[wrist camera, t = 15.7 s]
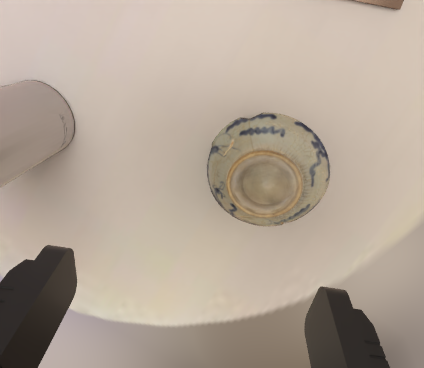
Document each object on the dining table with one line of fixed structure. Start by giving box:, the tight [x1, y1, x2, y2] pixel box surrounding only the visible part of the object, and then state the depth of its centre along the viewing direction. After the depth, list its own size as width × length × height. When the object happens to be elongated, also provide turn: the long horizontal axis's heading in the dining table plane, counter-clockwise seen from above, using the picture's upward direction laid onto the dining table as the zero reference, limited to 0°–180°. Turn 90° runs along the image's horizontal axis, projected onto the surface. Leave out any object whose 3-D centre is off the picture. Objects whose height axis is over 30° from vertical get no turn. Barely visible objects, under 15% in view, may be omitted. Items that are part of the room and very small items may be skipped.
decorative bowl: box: [207, 113, 330, 226], centre depth 38 cm, size 15×4×15 cm
